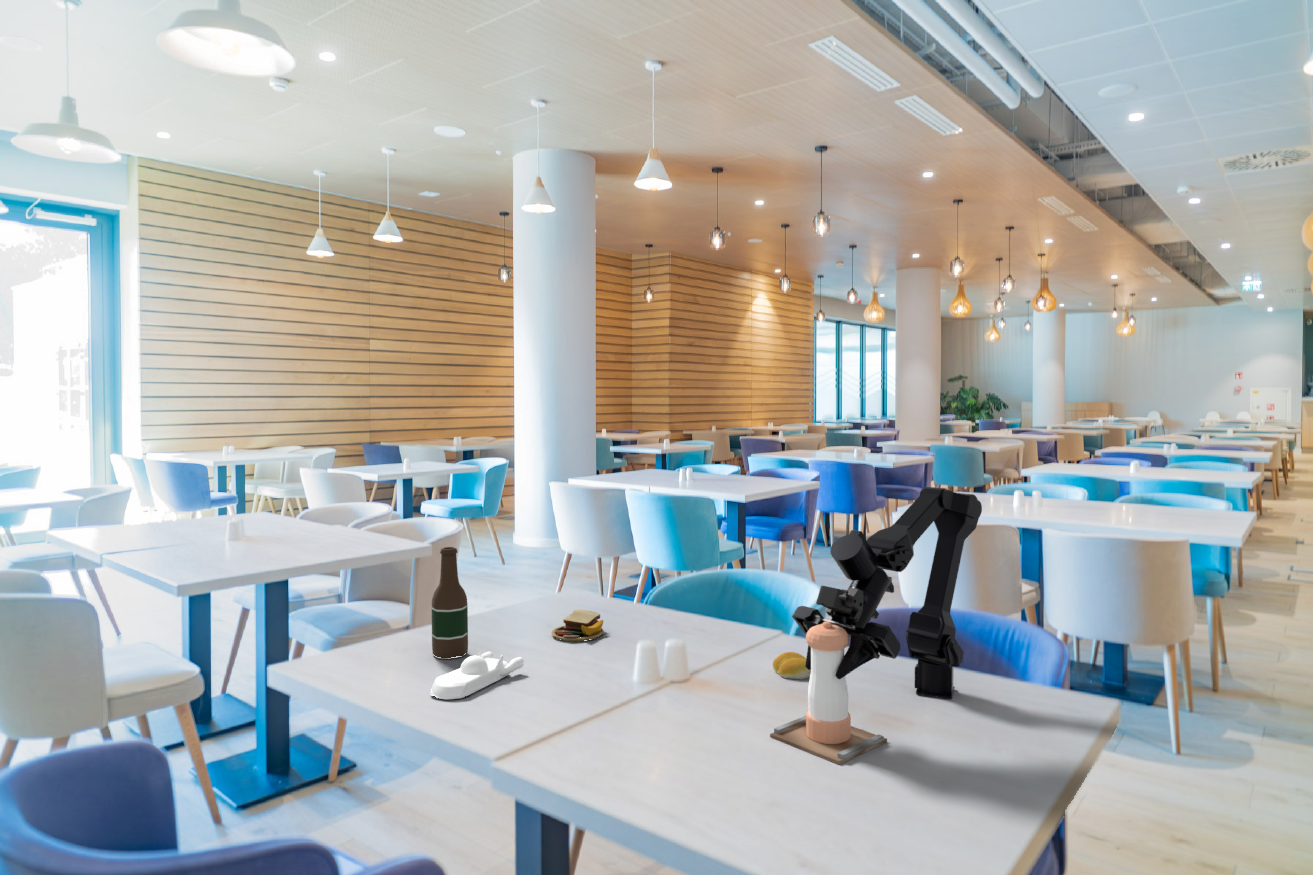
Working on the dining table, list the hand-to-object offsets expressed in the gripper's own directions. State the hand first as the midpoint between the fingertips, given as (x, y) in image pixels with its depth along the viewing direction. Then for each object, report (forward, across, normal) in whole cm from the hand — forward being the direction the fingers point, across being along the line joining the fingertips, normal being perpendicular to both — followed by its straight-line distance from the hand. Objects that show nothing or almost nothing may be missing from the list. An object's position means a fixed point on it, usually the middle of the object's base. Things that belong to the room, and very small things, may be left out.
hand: (821, 672), depth 134 cm
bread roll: (-9, -26, +25) cm, 37 cm away
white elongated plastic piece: (+30, -64, -12) cm, 71 cm away
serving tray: (+7, 0, +10) cm, 12 cm away
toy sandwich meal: (+4, -78, +13) cm, 80 cm away
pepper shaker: (+6, 0, +9) cm, 11 cm away
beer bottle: (+26, -84, -8) cm, 88 cm away
